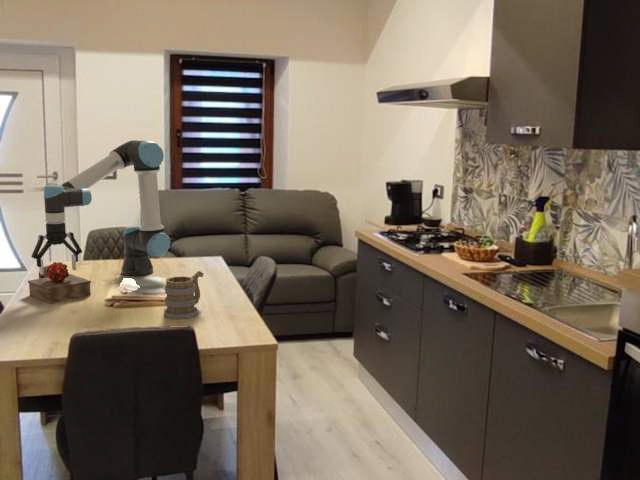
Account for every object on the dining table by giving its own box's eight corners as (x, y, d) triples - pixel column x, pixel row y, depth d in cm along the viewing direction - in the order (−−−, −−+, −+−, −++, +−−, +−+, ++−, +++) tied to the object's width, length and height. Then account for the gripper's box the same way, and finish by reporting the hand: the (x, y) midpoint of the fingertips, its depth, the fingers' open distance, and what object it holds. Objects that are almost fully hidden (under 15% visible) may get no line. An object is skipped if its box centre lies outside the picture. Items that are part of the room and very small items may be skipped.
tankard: (181, 321, 245) (180, 282, 242) (157, 315, 252) (155, 277, 249) (216, 308, 262) (216, 272, 259) (193, 303, 268) (192, 268, 266)
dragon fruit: (60, 280, 283) (60, 291, 273) (42, 270, 280) (41, 281, 269) (72, 264, 283) (72, 275, 272) (54, 254, 279) (53, 265, 268)
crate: (70, 289, 291) (69, 273, 290) (91, 296, 279) (90, 280, 277) (28, 296, 277) (27, 280, 276) (49, 305, 265) (48, 288, 264)
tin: (44, 286, 292) (43, 268, 291) (37, 286, 293) (36, 268, 291) (63, 279, 307) (62, 261, 305) (57, 278, 307) (56, 261, 306)
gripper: (81, 218, 283) (84, 266, 287) (21, 224, 267) (24, 274, 271) (88, 220, 278) (90, 269, 281) (27, 226, 261) (30, 277, 265)
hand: (58, 272), depth 276 cm, fingers open, 13 cm apart
